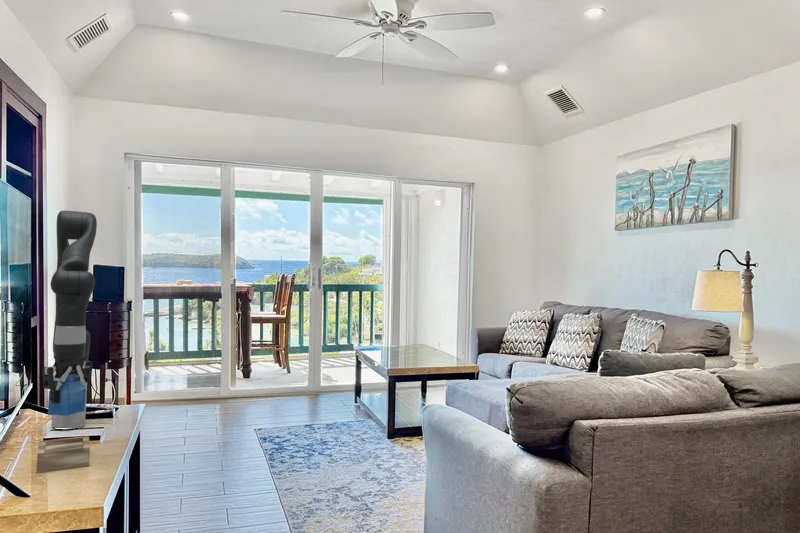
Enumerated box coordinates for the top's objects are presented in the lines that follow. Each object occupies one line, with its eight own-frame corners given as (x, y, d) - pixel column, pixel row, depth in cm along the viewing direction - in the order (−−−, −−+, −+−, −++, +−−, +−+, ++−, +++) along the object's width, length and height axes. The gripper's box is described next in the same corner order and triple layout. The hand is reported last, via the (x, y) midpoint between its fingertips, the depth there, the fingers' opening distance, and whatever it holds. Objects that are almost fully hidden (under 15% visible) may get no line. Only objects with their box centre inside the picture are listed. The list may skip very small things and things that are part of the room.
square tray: (38, 459, 149) (39, 441, 149) (87, 453, 155) (88, 435, 155) (36, 473, 139) (37, 453, 139) (88, 466, 145) (89, 447, 145)
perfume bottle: (66, 416, 144) (69, 372, 144) (47, 414, 145) (50, 370, 145) (84, 410, 150) (86, 368, 150) (66, 408, 151) (68, 367, 151)
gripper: (82, 338, 156) (79, 394, 156) (35, 343, 142) (32, 405, 142) (102, 340, 154) (99, 397, 153) (56, 345, 140) (52, 408, 140)
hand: (66, 400), depth 148 cm, fingers closed on perfume bottle, 6 cm apart
